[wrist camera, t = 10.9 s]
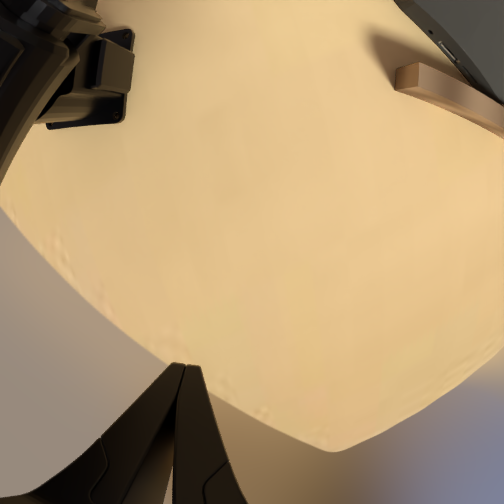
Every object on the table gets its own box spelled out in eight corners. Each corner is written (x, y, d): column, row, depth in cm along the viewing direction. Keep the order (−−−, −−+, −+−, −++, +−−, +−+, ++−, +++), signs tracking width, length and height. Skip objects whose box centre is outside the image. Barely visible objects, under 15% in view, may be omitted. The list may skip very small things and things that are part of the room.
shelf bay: (394, 90, 15) (417, 86, 12) (384, -97, 6) (396, -112, 3) (534, 158, 15) (556, 165, 13) (522, -12, 7) (539, -15, 4)
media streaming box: (428, -74, 7) (442, -85, 4) (530, 36, 10) (549, 34, 7) (364, -14, 12) (380, -30, 9) (494, 122, 15) (518, 126, 12)
